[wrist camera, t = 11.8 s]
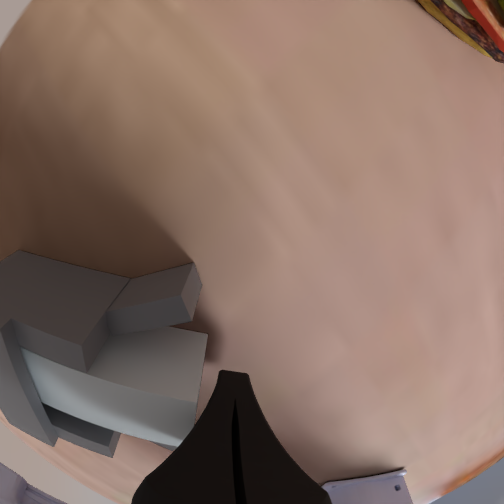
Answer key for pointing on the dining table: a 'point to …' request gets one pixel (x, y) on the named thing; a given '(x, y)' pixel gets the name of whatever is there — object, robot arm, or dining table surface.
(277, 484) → the robot arm
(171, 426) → the white rectangular block
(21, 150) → the dining table surface
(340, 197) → the dining table surface
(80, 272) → the endcap
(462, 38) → the food
